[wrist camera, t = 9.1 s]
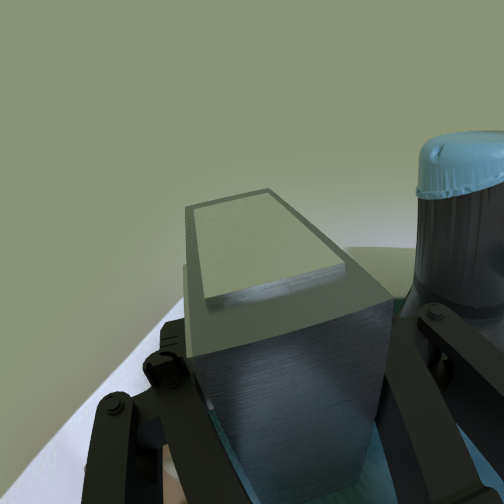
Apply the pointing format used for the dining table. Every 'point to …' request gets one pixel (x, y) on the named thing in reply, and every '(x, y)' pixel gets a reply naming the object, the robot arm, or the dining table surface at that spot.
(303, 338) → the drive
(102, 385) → the dining table surface
